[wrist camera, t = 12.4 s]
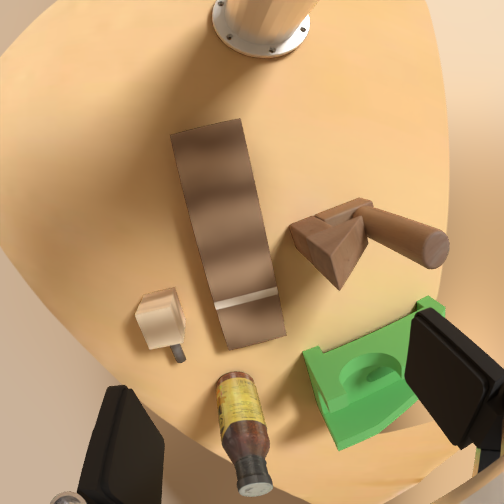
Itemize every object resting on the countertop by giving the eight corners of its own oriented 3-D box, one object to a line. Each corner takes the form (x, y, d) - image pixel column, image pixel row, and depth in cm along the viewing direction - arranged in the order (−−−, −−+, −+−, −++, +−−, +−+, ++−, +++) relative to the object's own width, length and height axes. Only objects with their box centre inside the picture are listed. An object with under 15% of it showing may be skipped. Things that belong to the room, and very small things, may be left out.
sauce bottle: (208, 377, 44) (215, 485, 25) (246, 363, 44) (270, 470, 25) (226, 403, 46) (239, 504, 27) (261, 391, 46) (288, 491, 27)
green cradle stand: (316, 403, 49) (338, 451, 38) (301, 350, 45) (327, 401, 34) (426, 350, 50) (461, 384, 39) (427, 294, 46) (471, 325, 35)
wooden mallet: (287, 224, 39) (347, 271, 22) (359, 196, 39) (450, 222, 22) (296, 249, 40) (357, 311, 23) (365, 221, 40) (453, 260, 23)
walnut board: (172, 137, 34) (169, 134, 31) (237, 121, 34) (240, 118, 31) (227, 338, 42) (228, 351, 39) (281, 324, 43) (286, 335, 40)
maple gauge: (143, 294, 39) (134, 315, 33) (174, 286, 39) (170, 307, 33) (167, 354, 42) (163, 379, 36) (196, 348, 42) (196, 373, 36)
